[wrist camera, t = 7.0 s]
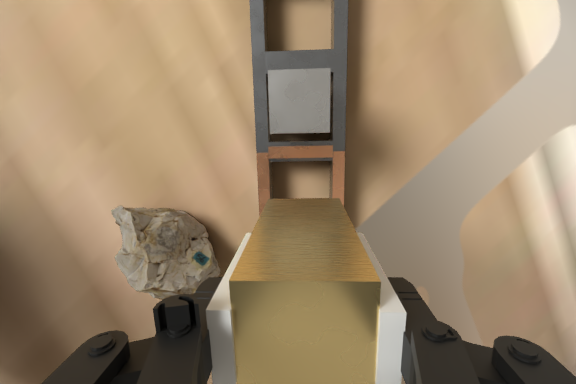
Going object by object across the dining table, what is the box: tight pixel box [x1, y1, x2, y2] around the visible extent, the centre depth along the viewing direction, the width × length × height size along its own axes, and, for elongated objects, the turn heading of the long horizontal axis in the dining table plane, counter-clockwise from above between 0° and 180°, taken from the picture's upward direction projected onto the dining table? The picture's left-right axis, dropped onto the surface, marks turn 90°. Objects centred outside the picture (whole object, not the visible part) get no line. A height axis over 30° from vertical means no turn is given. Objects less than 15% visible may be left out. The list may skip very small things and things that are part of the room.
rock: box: [112, 205, 220, 300], centre depth 31 cm, size 12×7×10 cm, turn 31°
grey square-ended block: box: [268, 68, 331, 134], centre depth 26 cm, size 4×4×10 cm
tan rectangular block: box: [229, 198, 381, 384], centre depth 14 cm, size 4×4×10 cm
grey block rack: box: [250, 0, 348, 215], centre depth 29 cm, size 9×26×3 cm, turn 1°
